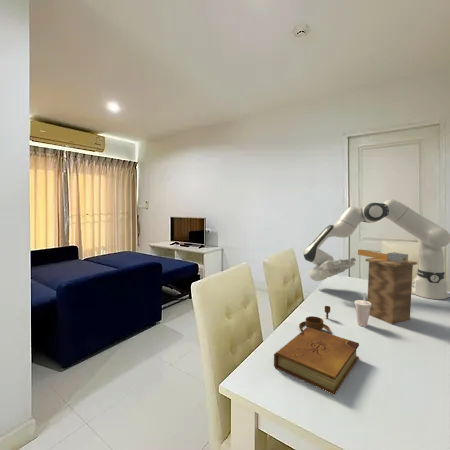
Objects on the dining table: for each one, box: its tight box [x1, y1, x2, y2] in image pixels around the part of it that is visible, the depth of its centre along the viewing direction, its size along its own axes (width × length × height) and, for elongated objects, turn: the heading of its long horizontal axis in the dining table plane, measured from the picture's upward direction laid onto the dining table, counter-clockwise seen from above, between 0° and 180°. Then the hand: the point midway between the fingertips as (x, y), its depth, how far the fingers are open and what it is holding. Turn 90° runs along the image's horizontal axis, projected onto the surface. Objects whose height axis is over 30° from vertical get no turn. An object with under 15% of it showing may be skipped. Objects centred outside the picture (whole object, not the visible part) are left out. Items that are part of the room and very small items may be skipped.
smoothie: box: [354, 291, 371, 328], centre depth 112 cm, size 6×6×14 cm
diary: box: [273, 327, 360, 395], centre depth 86 cm, size 23×19×6 cm
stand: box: [365, 257, 418, 326], centre depth 119 cm, size 14×14×26 cm
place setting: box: [298, 305, 331, 334], centre depth 109 cm, size 18×20×6 cm
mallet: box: [357, 249, 409, 264], centre depth 123 cm, size 22×5×4 cm, turn 24°
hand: (348, 260), depth 139 cm, fingers open, 8 cm apart
